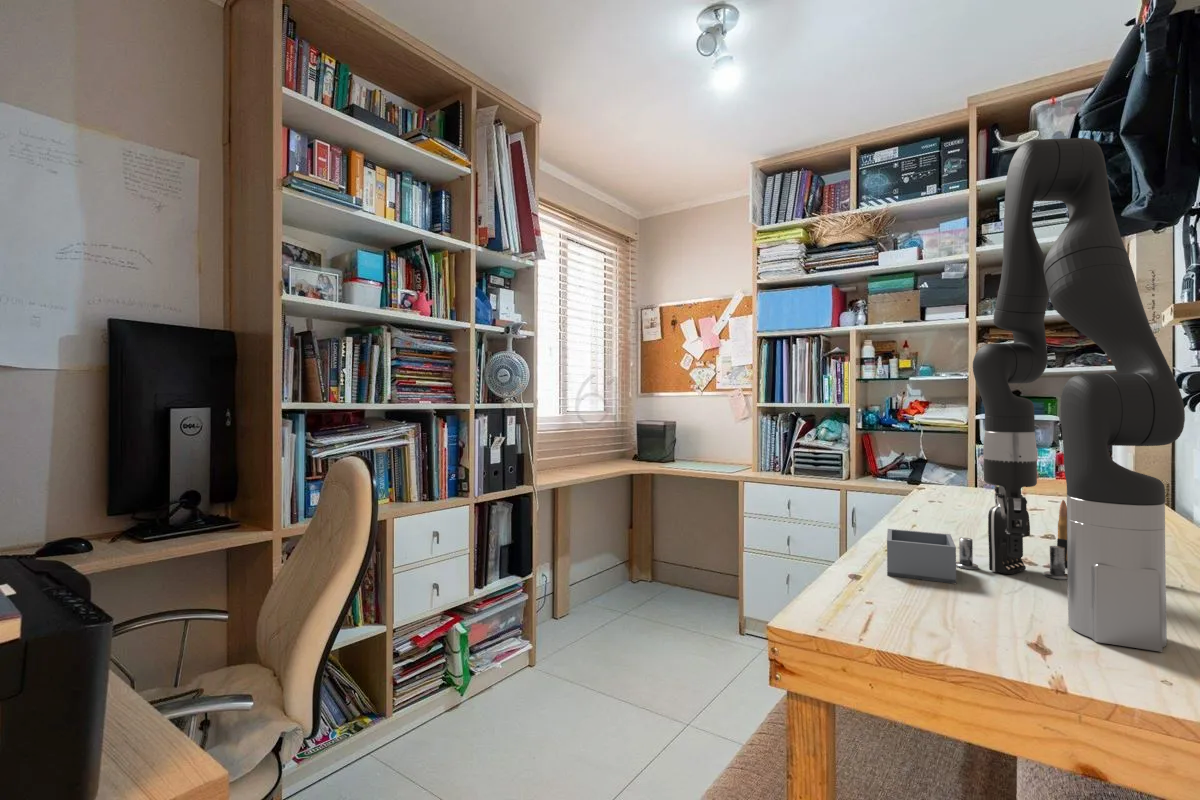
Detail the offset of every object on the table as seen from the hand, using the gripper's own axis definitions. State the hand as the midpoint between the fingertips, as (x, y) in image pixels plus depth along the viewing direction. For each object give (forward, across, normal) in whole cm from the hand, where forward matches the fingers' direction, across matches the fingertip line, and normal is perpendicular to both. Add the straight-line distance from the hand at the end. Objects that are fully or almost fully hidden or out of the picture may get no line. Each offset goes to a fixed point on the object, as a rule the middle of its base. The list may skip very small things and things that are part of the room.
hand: (1010, 551), depth 97 cm
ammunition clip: (+4, +6, -13) cm, 15 cm away
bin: (+3, -7, +14) cm, 16 cm away
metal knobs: (+3, 0, 0) cm, 3 cm away
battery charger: (+4, 0, 0) cm, 4 cm away
